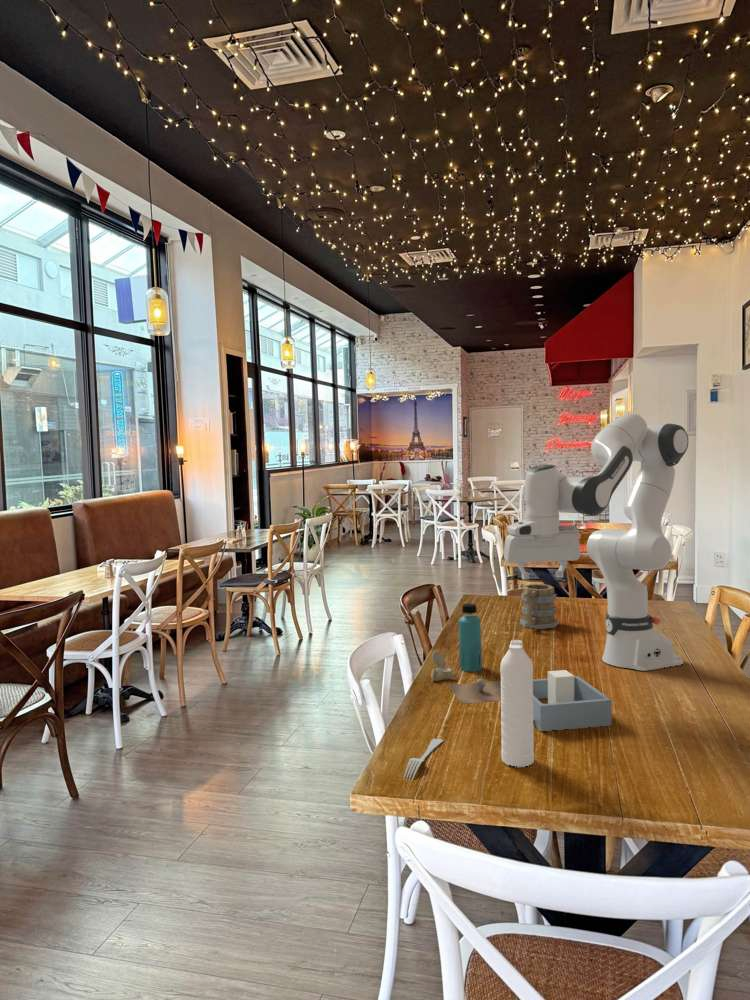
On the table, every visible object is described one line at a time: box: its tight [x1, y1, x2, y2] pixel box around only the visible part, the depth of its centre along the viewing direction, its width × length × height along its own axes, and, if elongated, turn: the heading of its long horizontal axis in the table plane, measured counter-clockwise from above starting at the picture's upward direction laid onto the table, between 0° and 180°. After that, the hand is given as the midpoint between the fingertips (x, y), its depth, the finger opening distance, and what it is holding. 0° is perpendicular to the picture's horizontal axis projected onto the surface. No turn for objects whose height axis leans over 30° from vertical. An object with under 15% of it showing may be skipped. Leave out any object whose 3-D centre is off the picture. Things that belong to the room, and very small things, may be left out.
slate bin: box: [533, 675, 612, 732], centre depth 162 cm, size 17×17×6 cm
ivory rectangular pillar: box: [547, 669, 575, 704], centre depth 162 cm, size 5×5×9 cm
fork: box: [402, 737, 444, 782], centre depth 141 cm, size 3×21×3 cm, turn 157°
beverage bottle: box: [458, 603, 483, 673], centre depth 193 cm, size 6×7×20 cm
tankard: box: [519, 583, 559, 630], centre depth 242 cm, size 20×13×15 cm, turn 144°
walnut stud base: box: [447, 678, 501, 705], centre depth 175 cm, size 14×14×5 cm
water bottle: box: [499, 639, 535, 768], centre depth 137 cm, size 9×6×25 cm
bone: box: [430, 650, 456, 682], centre depth 187 cm, size 9×6×10 cm
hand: (542, 578), depth 181 cm, fingers open, 8 cm apart
